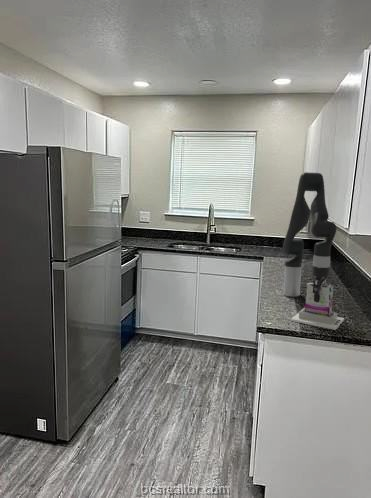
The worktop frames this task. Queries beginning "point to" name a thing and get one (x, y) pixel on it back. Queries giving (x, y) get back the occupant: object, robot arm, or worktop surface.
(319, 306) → the candy bar box
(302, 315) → the socket board
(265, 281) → the worktop surface
